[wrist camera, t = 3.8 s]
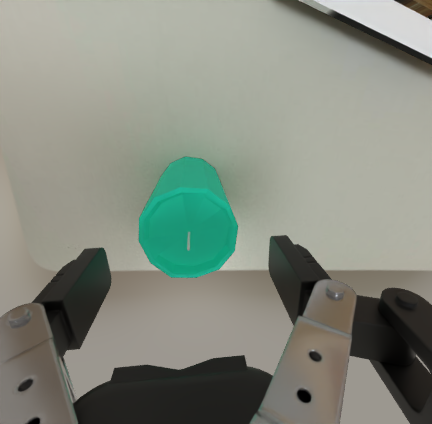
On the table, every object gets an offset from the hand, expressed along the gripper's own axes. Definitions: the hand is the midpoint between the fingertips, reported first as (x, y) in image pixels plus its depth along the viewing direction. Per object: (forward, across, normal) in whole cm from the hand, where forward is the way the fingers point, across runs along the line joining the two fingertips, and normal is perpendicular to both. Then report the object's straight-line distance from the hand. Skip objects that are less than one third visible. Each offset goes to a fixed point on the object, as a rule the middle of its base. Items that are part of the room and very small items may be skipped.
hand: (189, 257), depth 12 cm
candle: (+13, 0, 0) cm, 13 cm away
